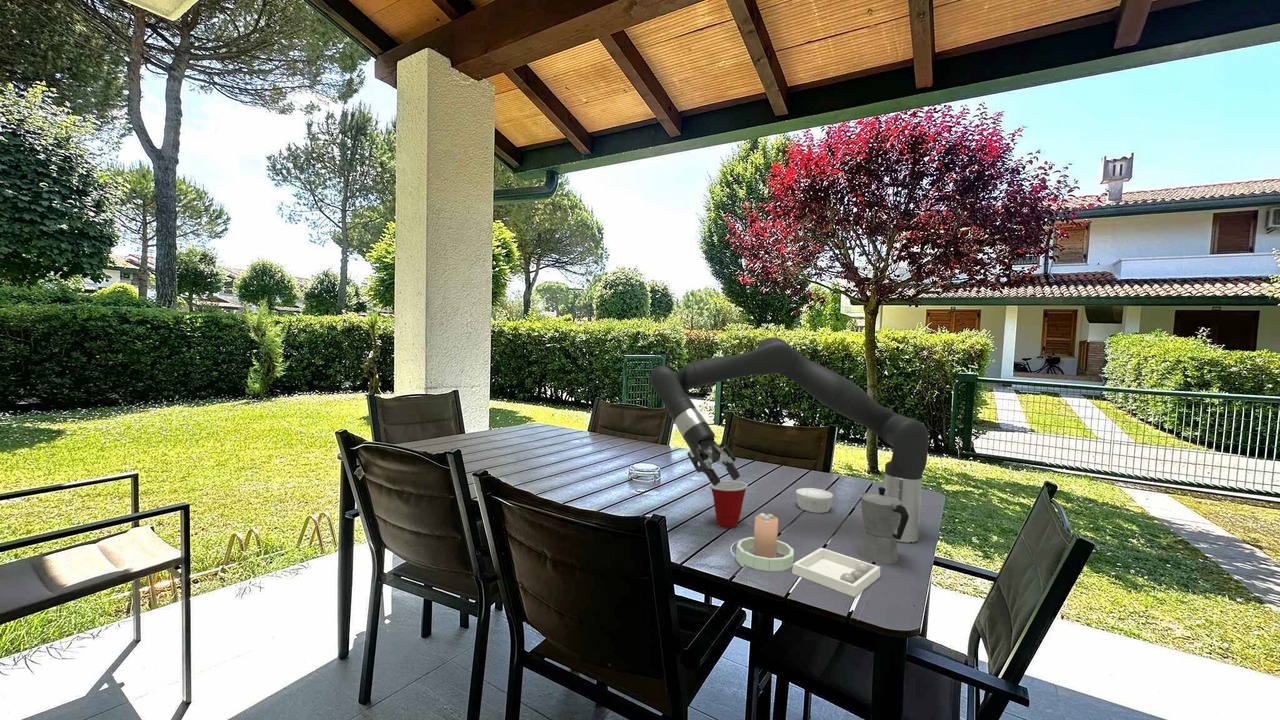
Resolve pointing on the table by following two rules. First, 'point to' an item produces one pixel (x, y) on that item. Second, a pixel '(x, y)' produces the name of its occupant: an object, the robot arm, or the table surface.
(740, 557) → the sage bowl
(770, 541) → the pebble pot
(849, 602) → the table surface
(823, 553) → the parts tray
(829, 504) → the ramekin
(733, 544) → the table surface
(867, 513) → the coffeepot
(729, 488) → the plastic cup
